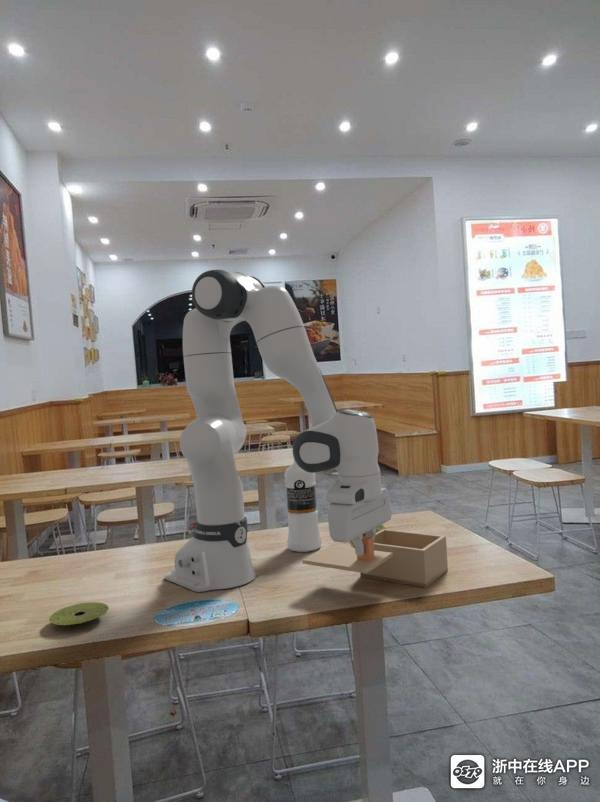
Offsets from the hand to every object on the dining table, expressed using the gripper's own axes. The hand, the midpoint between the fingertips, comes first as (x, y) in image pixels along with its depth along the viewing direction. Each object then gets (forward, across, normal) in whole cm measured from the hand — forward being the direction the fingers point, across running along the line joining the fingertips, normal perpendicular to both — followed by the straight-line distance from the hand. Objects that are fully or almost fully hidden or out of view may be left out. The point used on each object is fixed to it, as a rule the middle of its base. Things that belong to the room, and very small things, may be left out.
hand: (364, 552), depth 123 cm
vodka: (+9, -21, -31) cm, 39 cm away
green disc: (+8, +39, -44) cm, 60 cm away
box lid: (+2, 0, -4) cm, 5 cm away
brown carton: (+9, -14, +2) cm, 17 cm away
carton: (+9, -37, -20) cm, 43 cm away
